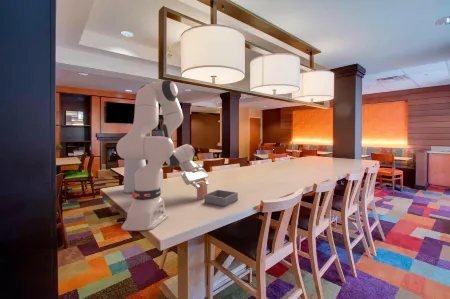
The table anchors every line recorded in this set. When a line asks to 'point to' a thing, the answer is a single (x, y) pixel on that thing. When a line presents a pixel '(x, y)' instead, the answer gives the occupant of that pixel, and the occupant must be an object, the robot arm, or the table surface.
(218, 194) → the tray
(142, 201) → the robot arm
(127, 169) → the plastic bottle
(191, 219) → the table surface
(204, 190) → the square container
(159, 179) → the milk carton
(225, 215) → the table surface
